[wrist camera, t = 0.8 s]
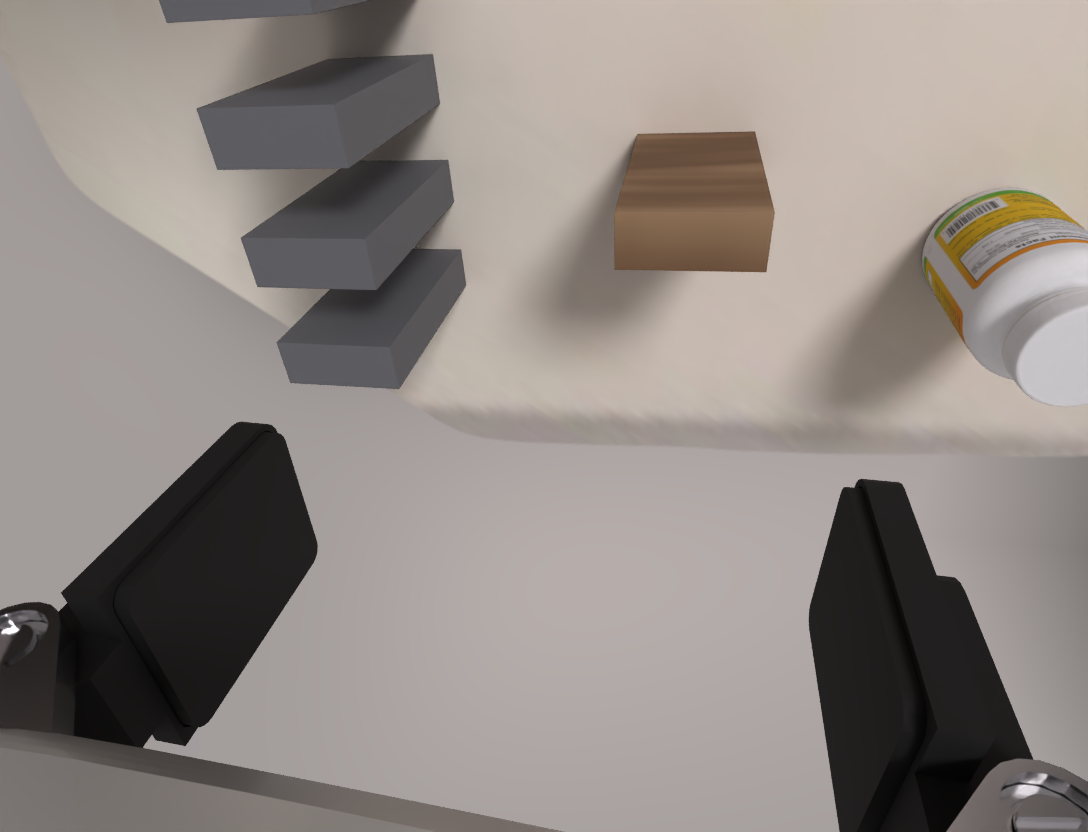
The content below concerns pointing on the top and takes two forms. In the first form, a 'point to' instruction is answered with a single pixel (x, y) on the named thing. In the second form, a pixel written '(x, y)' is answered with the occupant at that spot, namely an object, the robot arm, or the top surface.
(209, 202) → the top surface
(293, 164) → the domino
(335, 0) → the domino
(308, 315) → the domino
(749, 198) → the domino
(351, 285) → the domino
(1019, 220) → the supplement bottle
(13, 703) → the robot arm
